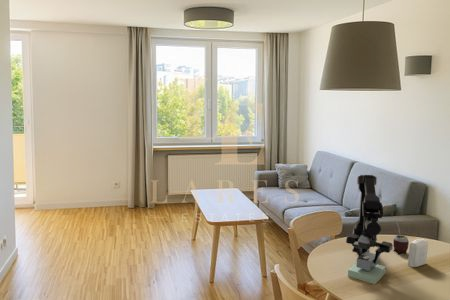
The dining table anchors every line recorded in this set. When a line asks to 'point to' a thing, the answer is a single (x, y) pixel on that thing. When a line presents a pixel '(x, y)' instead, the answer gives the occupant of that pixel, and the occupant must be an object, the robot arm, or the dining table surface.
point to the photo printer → (418, 253)
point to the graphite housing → (366, 261)
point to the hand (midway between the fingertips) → (367, 261)
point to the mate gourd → (400, 243)
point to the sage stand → (367, 273)
